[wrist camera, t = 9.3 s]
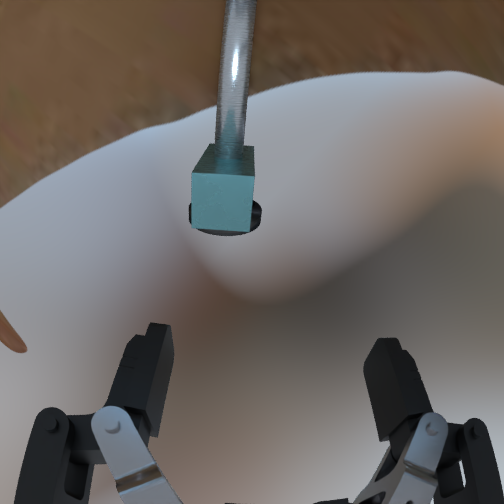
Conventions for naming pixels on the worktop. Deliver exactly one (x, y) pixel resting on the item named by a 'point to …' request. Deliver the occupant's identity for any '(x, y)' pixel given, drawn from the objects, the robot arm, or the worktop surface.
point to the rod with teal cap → (229, 138)
